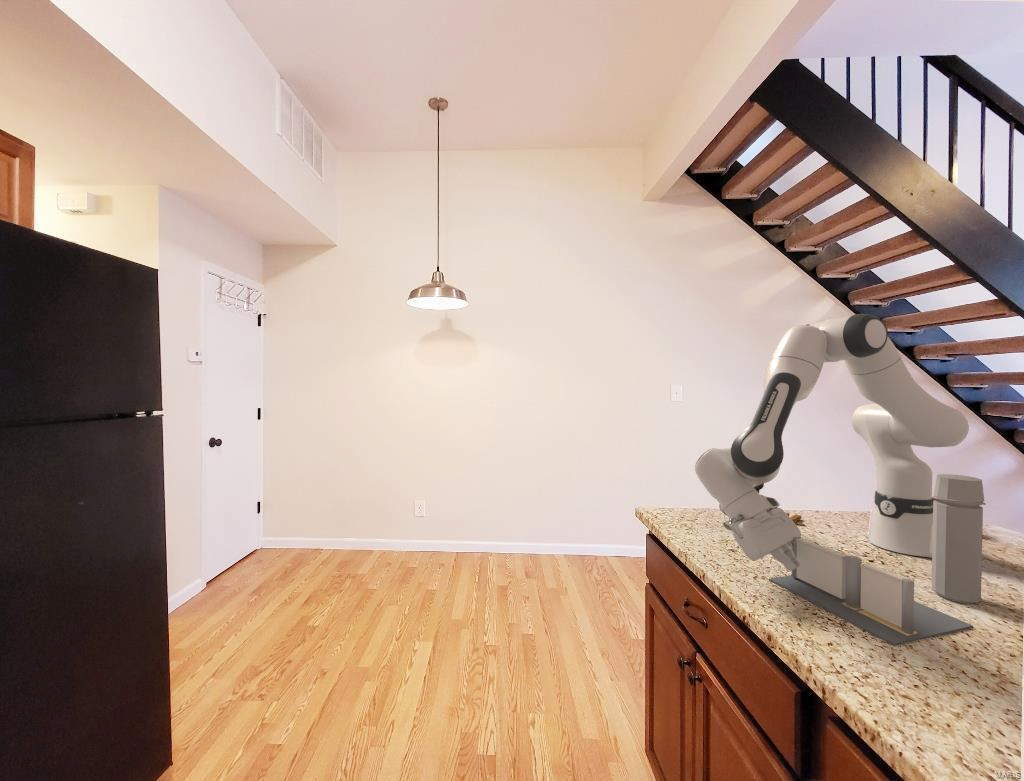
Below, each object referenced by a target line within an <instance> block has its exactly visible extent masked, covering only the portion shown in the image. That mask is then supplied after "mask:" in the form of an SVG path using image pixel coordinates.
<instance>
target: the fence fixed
mask: <svg viewBox="0 0 1024 781" xmlns="http://www.w3.org/2000/svg"><path fill="white" fill-rule="evenodd" d="M914 601H915V581H914V580H912V579H909V578H907V577H905V576H902V575H898V574H897V573H894V572H891V571H889V570H886V569H883V568H880V567H878V566H875V565H873V564H870V563H868V562H865V563H863V562H862V558H861V557H859V556H855V555H848V554H847V556H846V603H845V604H846V605H847V606H849V607H851V608H855V609H860V608H861V609H864V610H866V611H868V612H870V613H872V614H874V615H876V616H878V617H880V618H882V619H884V620H886V621H889V622H891V623H893V624H895V625H897V626H899V627H901V631H903V632H904V633H907V634H913V625H914Z"/></svg>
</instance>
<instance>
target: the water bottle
mask: <svg viewBox="0 0 1024 781" xmlns="http://www.w3.org/2000/svg"><path fill="white" fill-rule="evenodd" d="M983 485H984V484H983V480H982V479H981V478H978V477H974V476H968V475H959V474H953V473H952V474H950V473H949V474H947V473H939V474H936V478H935V484H934V489H933V490H934V491H933V495H932V496H931V498H935V499H937V500H934V501H933V546H932V558H931V559H932V560H931V589H932V590H933V592H934V593H935V594H936V595H938V596H940V597H941V598H944V599H946V600H950V601H952V602H956V603H961V604H966V605H968V604H969V605H970V604H974V605H975V604H977V603H979V602H980V601H981V600H982V575H983V574H982V572H983V571H982V569H983V568H982V566H983V529H984V528H983V522H984V517H983V515H984V514H983V513H984V509H983V508H984V507H982V505H983V506H987V505H986V504H987V503H985V494H984V487H983Z"/></svg>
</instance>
